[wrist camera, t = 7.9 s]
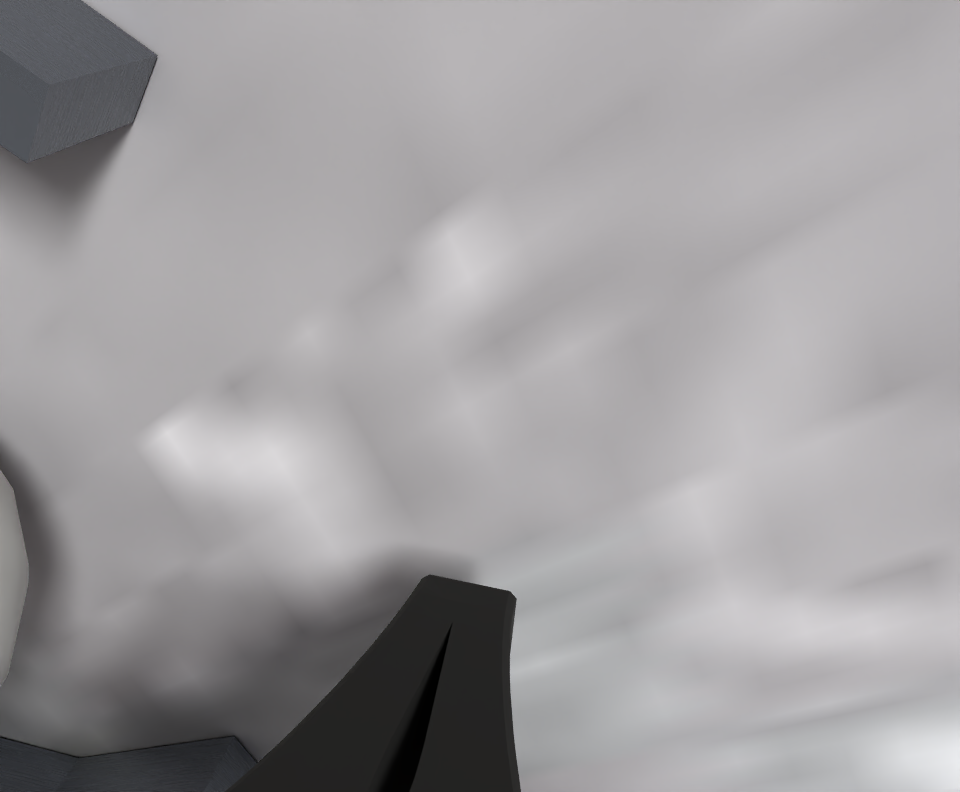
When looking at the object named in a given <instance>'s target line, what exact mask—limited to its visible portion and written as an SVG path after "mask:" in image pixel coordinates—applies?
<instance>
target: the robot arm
mask: <svg viewBox="0 0 960 792" xmlns="http://www.w3.org/2000/svg"><path fill="white" fill-rule="evenodd" d="M516 600H517V599H516V598H515V596H514V595H513V594H512V593H511V592H510V591H506V590H502V589H497V588H492V587H487V586H482V585H477V584H473V583H468V582H463V581H458V580H453V579H449V578H444V577H439V576H434V575H428V576H426V577H424V578H422V579H421V581H420V582H419V584H418V585H417V587H416V588H415V590H414V591H413V593H412V594H411V596H410V597H409V598H408V600H407V601H406V603H405V604H404V605H403V607H402V608H401V609H400V611H399V612H398V613H397V615H396V616H395V617H394V618H393V620H392V621H391V622H390V624H389V625H388V626H387V627H386V628H385V630H384V631H383V632H382V633H381V635H380V636H379V637H378V638H377V640H376V641H375V642H374V643H373V644H372V646H371V647H370V648H369V649H368V650H367V651H366V652H365V654H364V655H363V656H362V657H361V658H360V659H359V660H358V662H357V663H356V664H355V665H354V666H353V667H352V669H351V670H350V671H349V672H348V673H347V674H346V675H345V677H344V678H343V679H342V680H341V681H340V682H339V683H338V684H337V685H336V686H335V687H334V689H333V690H332V691H331V692H330V693H329V694H328V695H327V696H326V697H325V698H324V699H323V700H322V701H321V702H320V703H319V704H318V705H317V706H316V707H315V708H314V709H313V710H312V711H311V712H310V713H309V714H308V715H307V716H306V717H305V718H304V719H303V720H302V721H301V722H300V723H299V724H298V726H297V727H296V728H295V729H293V730H292V731H291V732H290V733H289V734H288V735H287V736H286V737H285V738H284V739H283V740H282V741H281V742H280V743H279V744H278V745H277V746H276V747H275V748H274V749H272V750H271V751H270V752H269V753H268V754H267V755H266V756H265V757H264V758H263V759H262V760H260V761H259V762H258V763H257V764H256V765H255V766H254V767H253V768H251V769H250V770H249V771H248V772H247V773H246V774H245V775H243V776H242V777H241V778H240V779H239V780H238V781H237V782H235V783H234V784H233V785H232V786H231V787H230V788H228V789H227V790H226V791H225V792H521V789H520V782H519V774H518V767H517V760H516V752H515V743H514V734H513V721H512V707H511V694H510V650H511V641H512V633H513V625H514V616H515V608H516Z"/></svg>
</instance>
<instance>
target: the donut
mask: <svg viewBox="0 0 960 792" xmlns="http://www.w3.org/2000/svg"><path fill="white" fill-rule="evenodd" d="M28 584H29V563H28V558H27V553H26V548H25V543H24V539H23V534H22V529H21V524H20V519H19V514H18V510H17V505H16V500H15V495H14V490H13V488H12V487H11V485H10V484H9V482H8V481H7V479H6V478H5V476H4V474H3V473H2V472H1V470H0V687H1V686H2V684H3V682H4V681H5V679H6V678H7V676H8V674H9V670H10V665H11V661H12V656H13V652H14V647H15V643H16V638H17V634H18V629H19V625H20V620H21V616H22V612H23V607H24V603H25V598H26V594H27V589H28Z"/></svg>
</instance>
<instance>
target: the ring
mask: <svg viewBox="0 0 960 792" xmlns="http://www.w3.org/2000/svg"><path fill="white" fill-rule="evenodd" d="M156 58H157V55H156V54H155V53H154V52H152V51H151V50H149V49H148V48H147V47H145V46H144V45H142V44H141V43H140V42H138V41H137V40H136V39H134V38H133V37H131V36H130V35H129V34H127V33H126V32H124V31H123V30H122V29H120V28H119V27H117V26H116V25H115V24H113V23H112V22H111V21H109V20H108V19H106V18H105V17H104V16H102V15H101V14H99V13H98V12H97V11H95V10H94V9H93V8H91V7H90V6H88V5H87V4H86V3H84V2H83V1H81V0H0V145H1V146H2V147H4V148H5V149H7V150H8V151H10V152H11V153H13V154H14V155H15V156H17V157H18V158H20V159H21V160H23V161H24V162H26V163H28V162H31V161H33V160H36V159H39V158H41V157H44V156H47V155H49V154H52V153H54V152H57V151H60V150H62V149H65V148H67V147H70V146H73V145H75V144H78V143H81V142H83V141H86V140H88V139H91V138H94V137H96V136H99V135H101V134H104V133H107V132H109V131H112V130H115V129H117V128H120V127H122V126H125V125H128V124H130V123H133V120H134V118H135V115H136V112H137V110H138V107H139V104H140V101H141V99H142V96H143V93H144V91H145V88H146V85H147V82H148V80H149V77H150V74H151V72H152V69H153V66H154V63H155V61H156ZM256 764H257V763H256V761H255V760H254V759H253V758H252V757H251V755H250V754H249V753H248V752H247V751H246V750H245V748H244V747H243V746H242V745H241V744H240V743H239V741H238V740H237V739H236V738H235V737H234V736H232V737H225V738H218V739H211V740H204V741H197V742H190V743H183V744H176V745H169V746H162V747H155V748H147V749H140V750H133V751H126V752H119V753H112V754H105V755H98V756H91V757H84V758H76V757H72V756H68V755H64V754H61V753H57V752H53V751H49V750H45V749H42V748H38V747H34V746H30V745H26V744H23V743H19V742H15V741H11V740H7V739H4V738H0V792H225V791H226V790H227V789H228V788H230V787H231V786H232V785H233V784H234V783H235V782H237V781H238V780H239V779H240V778H241V777H242V776H243V775H245V774H246V773H247V772H248V771H249V770H250V769H251V768H253V767H254V766H255V765H256Z"/></svg>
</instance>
